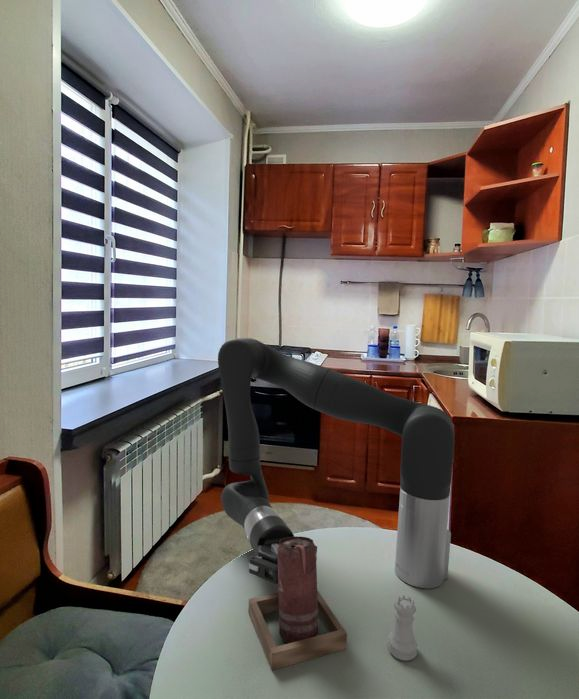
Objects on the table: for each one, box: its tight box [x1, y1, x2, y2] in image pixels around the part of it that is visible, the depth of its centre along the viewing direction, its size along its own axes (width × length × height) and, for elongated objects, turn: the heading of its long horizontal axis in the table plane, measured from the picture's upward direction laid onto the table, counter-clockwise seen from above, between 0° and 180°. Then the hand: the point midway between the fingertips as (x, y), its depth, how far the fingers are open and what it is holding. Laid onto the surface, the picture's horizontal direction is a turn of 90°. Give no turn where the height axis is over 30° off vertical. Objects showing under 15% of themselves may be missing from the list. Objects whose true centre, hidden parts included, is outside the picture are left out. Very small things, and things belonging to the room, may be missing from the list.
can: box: [277, 536, 320, 644], centre depth 66 cm, size 6×6×14 cm
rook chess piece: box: [386, 595, 418, 662], centre depth 64 cm, size 4×4×8 cm
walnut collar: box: [247, 589, 348, 671], centre depth 67 cm, size 12×12×2 cm
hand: (304, 590), depth 64 cm, fingers closed
